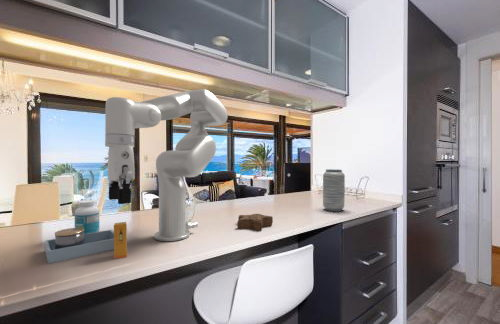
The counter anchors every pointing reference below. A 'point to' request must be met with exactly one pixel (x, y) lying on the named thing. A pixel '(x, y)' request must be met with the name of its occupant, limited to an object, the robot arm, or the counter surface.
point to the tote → (81, 246)
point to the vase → (333, 190)
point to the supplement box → (120, 240)
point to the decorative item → (254, 221)
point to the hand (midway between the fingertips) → (119, 201)
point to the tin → (69, 237)
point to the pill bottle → (87, 217)
